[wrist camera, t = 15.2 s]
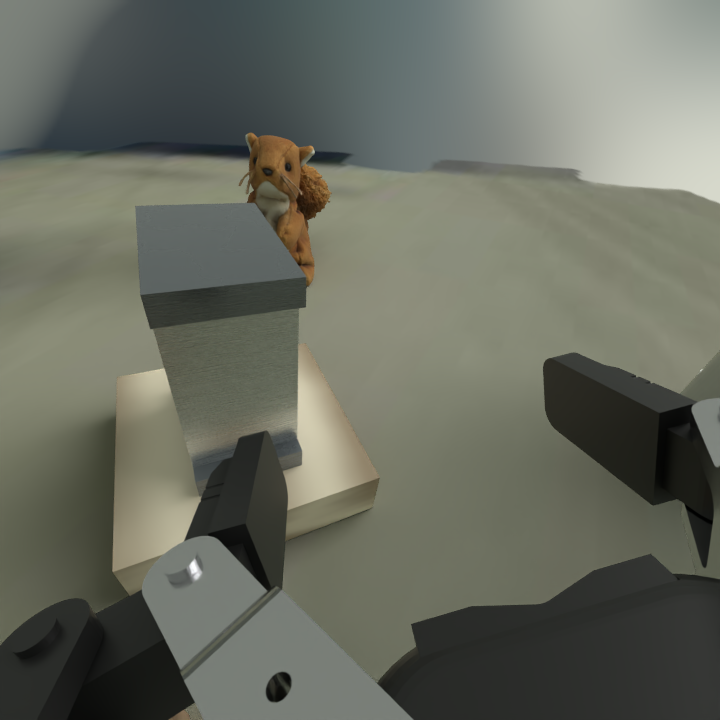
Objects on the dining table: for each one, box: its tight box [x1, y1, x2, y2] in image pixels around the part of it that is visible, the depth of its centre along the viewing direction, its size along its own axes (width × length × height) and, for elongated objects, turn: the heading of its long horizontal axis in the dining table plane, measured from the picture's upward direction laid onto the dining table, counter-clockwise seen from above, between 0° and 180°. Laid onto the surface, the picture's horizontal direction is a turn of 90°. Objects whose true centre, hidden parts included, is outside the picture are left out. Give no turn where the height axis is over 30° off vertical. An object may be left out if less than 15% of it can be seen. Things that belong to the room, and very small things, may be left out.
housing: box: [135, 203, 307, 497], centre depth 18 cm, size 5×8×11 cm, turn 25°
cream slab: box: [112, 343, 380, 596], centre depth 22 cm, size 12×12×3 cm
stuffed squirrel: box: [239, 133, 332, 286], centre depth 40 cm, size 10×14×13 cm
